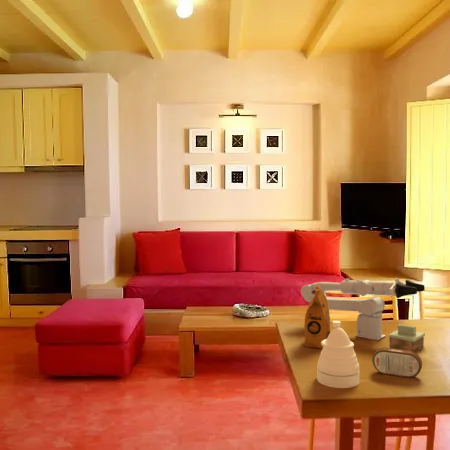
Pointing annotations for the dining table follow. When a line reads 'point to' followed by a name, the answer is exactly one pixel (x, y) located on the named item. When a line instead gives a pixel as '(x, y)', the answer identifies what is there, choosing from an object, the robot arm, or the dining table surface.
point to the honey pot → (338, 360)
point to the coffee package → (317, 320)
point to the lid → (406, 333)
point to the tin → (397, 362)
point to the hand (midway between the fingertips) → (420, 289)
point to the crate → (406, 344)
